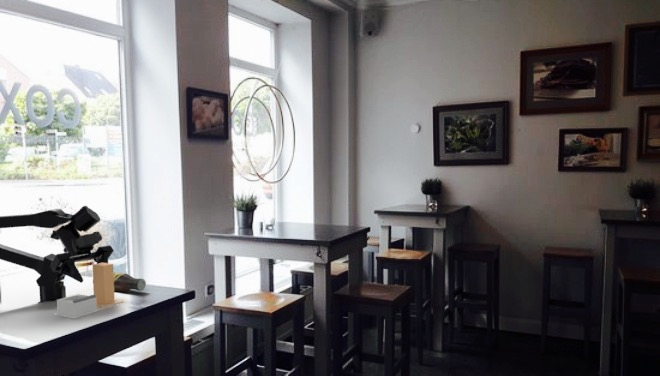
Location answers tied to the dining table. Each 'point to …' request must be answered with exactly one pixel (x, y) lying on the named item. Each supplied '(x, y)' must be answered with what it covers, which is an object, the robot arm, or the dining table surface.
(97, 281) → the tan rectangular block
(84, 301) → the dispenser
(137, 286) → the sauce bottle
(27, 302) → the dining table surface
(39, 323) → the dining table surface
